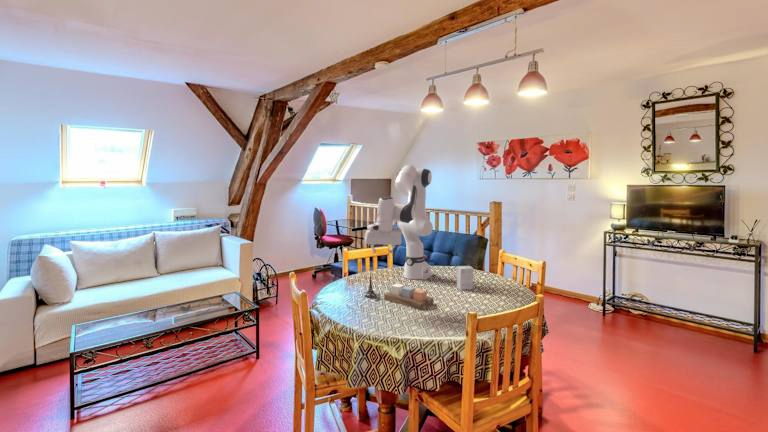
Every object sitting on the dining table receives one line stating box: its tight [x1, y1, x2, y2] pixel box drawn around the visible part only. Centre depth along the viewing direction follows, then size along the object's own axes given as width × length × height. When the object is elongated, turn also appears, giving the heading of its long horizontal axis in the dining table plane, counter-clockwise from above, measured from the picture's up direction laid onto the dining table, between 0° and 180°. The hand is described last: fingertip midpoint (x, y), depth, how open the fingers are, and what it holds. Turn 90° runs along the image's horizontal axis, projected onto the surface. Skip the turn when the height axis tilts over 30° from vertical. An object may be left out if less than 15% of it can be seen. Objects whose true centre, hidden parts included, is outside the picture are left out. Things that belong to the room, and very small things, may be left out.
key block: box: [383, 291, 434, 311], centre depth 215 cm, size 12×24×3 cm, turn 50°
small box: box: [456, 265, 474, 291], centre depth 238 cm, size 8×6×13 cm
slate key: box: [402, 285, 416, 299], centre depth 215 cm, size 5×5×5 cm
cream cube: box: [390, 283, 405, 296], centre depth 220 cm, size 5×5×5 cm
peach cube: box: [413, 288, 428, 302], centre depth 210 cm, size 5×5×5 cm
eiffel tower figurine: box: [363, 275, 381, 302], centre depth 222 cm, size 15×10×13 cm
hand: (382, 252), depth 212 cm, fingers open, 8 cm apart
